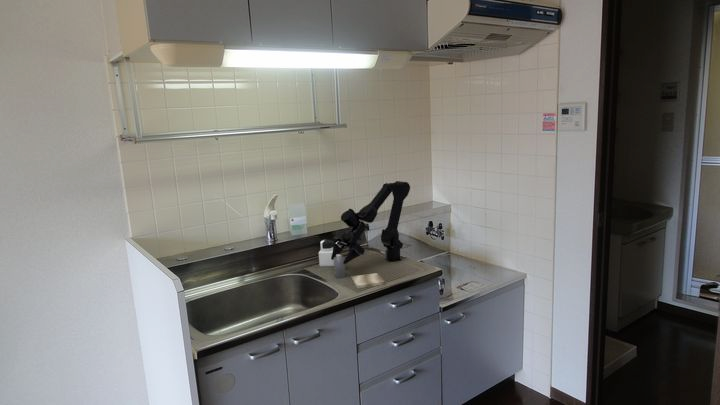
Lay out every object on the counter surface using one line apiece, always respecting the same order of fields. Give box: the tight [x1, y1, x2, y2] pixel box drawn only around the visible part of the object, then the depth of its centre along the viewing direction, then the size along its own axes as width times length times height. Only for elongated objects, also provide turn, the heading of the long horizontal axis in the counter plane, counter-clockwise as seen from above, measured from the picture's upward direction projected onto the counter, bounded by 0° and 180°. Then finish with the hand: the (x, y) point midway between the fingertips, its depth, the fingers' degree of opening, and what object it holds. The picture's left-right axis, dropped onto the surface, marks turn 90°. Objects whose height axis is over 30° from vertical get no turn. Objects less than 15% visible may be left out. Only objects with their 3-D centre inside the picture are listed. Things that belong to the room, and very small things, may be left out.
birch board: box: [350, 272, 386, 289], centre depth 203 cm, size 12×12×1 cm
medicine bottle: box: [318, 239, 334, 267], centre depth 229 cm, size 7×7×12 cm
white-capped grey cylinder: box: [333, 254, 346, 279], centre depth 211 cm, size 5×5×10 cm
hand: (337, 261), depth 210 cm, fingers open, 9 cm apart
